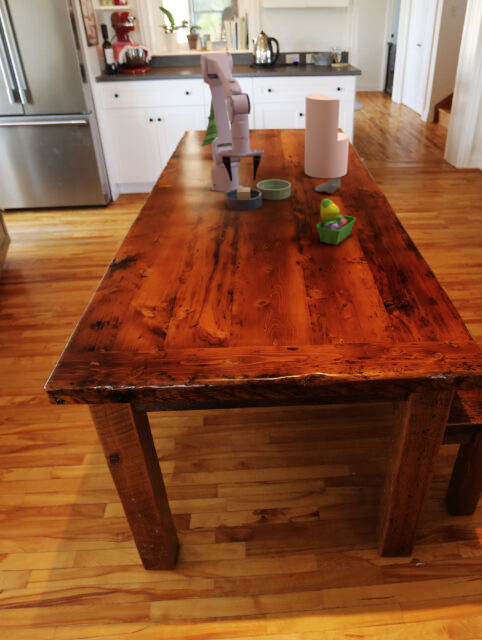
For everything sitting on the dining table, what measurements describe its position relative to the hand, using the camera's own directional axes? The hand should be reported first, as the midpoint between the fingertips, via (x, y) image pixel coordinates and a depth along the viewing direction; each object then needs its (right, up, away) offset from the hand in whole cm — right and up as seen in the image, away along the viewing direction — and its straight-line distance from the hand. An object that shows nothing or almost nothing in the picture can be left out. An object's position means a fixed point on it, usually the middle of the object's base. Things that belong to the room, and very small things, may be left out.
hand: (242, 180), depth 162 cm
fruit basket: (+28, -23, -18) cm, 41 cm away
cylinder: (+30, +16, +37) cm, 51 cm away
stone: (+29, +1, +17) cm, 34 cm away
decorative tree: (-16, +29, +57) cm, 66 cm away
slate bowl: (0, -7, +5) cm, 9 cm away
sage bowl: (+10, -1, +13) cm, 17 cm away
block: (0, -7, +5) cm, 8 cm away
